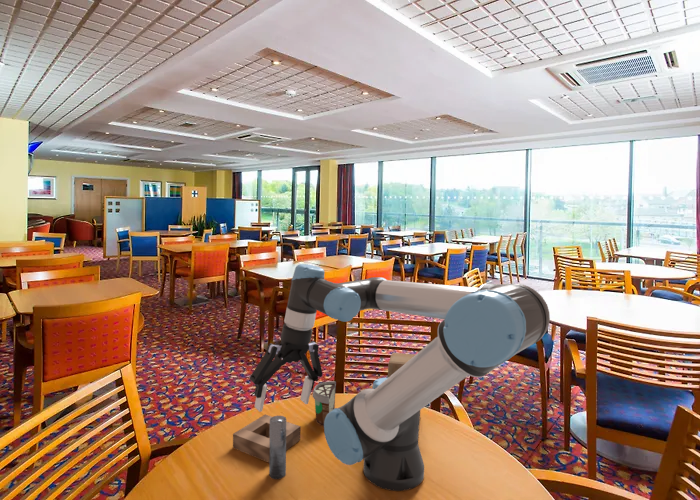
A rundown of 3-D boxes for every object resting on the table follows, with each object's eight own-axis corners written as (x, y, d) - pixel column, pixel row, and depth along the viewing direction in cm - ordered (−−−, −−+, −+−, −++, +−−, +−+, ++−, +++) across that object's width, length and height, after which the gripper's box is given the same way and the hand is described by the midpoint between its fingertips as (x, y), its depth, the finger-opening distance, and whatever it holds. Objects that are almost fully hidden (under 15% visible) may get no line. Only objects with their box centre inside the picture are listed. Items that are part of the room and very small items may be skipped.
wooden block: (419, 430, 126) (421, 365, 124) (385, 425, 128) (388, 362, 126) (420, 414, 136) (422, 354, 134) (389, 410, 138) (391, 351, 136)
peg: (289, 472, 104) (289, 418, 103) (278, 481, 101) (279, 425, 100) (276, 467, 106) (276, 414, 105) (265, 475, 103) (266, 420, 102)
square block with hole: (300, 439, 119) (300, 426, 119) (270, 463, 108) (270, 448, 108) (264, 427, 126) (265, 414, 125) (233, 447, 114) (232, 433, 114)
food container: (316, 408, 138) (317, 379, 137) (335, 410, 137) (335, 380, 136) (307, 427, 126) (308, 395, 125) (328, 429, 125) (328, 397, 124)
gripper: (328, 320, 117) (313, 392, 119) (246, 321, 101) (230, 404, 103) (345, 329, 111) (329, 405, 113) (260, 332, 95) (243, 420, 97)
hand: (282, 405), depth 108 cm, fingers open, 13 cm apart
